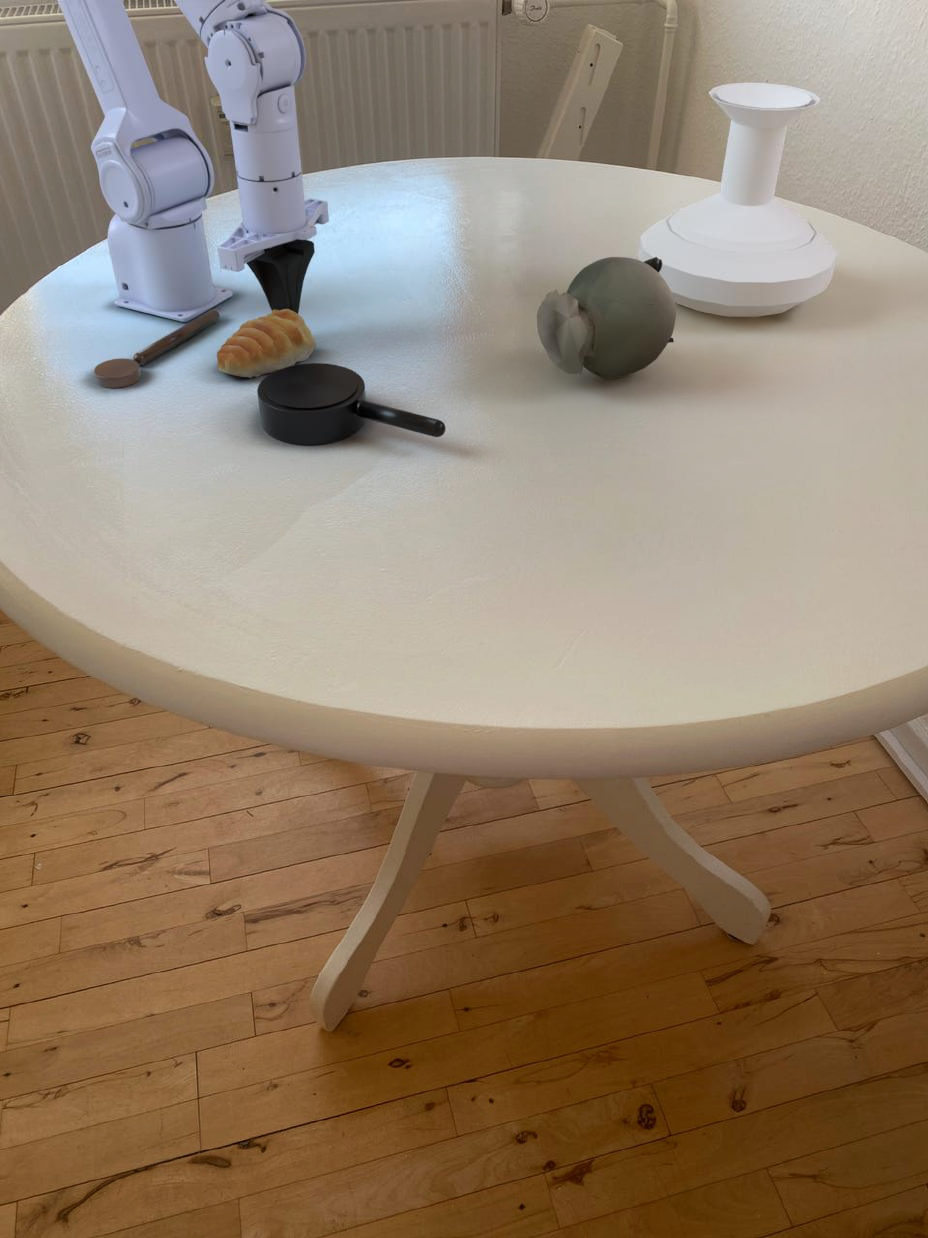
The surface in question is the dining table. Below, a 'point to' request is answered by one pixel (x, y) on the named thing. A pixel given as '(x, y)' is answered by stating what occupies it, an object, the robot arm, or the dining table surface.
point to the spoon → (148, 354)
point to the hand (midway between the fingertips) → (285, 319)
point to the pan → (326, 406)
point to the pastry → (266, 345)
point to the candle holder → (745, 219)
